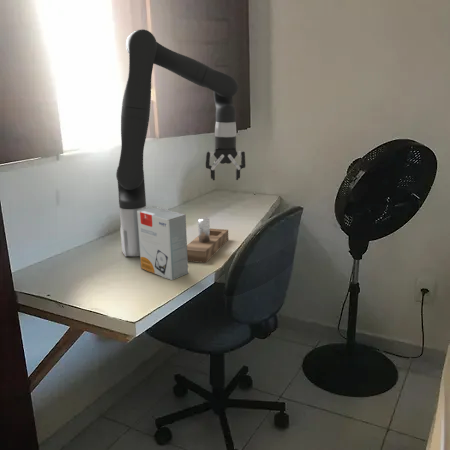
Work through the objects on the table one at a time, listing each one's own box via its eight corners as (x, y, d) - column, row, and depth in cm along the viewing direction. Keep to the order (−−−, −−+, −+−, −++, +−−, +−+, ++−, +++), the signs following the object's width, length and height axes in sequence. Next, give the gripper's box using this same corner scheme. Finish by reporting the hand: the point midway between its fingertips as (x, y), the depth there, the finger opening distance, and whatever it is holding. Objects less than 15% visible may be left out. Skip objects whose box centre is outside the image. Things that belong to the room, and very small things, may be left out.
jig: (205, 262, 172) (205, 251, 171) (182, 260, 174) (182, 249, 173) (228, 239, 194) (228, 229, 193) (207, 238, 197) (207, 228, 196)
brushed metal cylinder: (201, 243, 179) (200, 221, 177) (197, 239, 182) (196, 218, 180) (211, 241, 180) (211, 219, 178) (207, 238, 184) (207, 217, 182)
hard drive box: (140, 269, 168) (135, 210, 162) (157, 262, 173) (154, 205, 167) (171, 281, 157) (167, 219, 152) (189, 273, 163) (186, 213, 157)
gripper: (206, 136, 176) (206, 182, 181) (246, 135, 178) (246, 181, 182) (204, 133, 183) (205, 178, 188) (244, 133, 185) (243, 177, 189)
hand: (225, 179), depth 185 cm, fingers open, 8 cm apart
